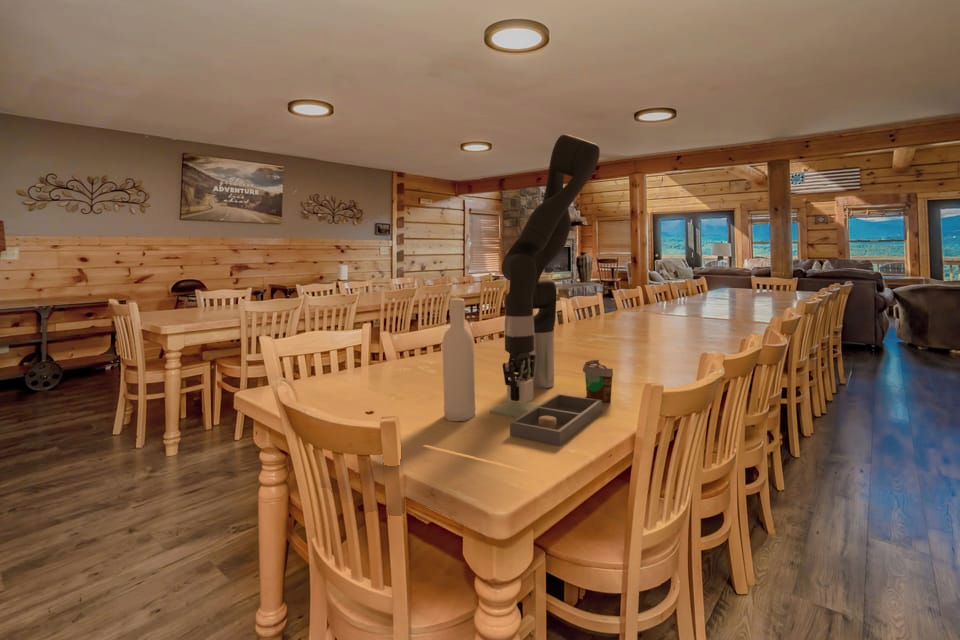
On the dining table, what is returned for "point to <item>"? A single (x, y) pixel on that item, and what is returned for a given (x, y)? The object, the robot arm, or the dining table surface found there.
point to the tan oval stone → (547, 422)
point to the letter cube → (522, 391)
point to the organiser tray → (568, 416)
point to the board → (513, 408)
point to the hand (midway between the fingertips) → (520, 397)
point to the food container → (598, 381)
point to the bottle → (458, 366)
